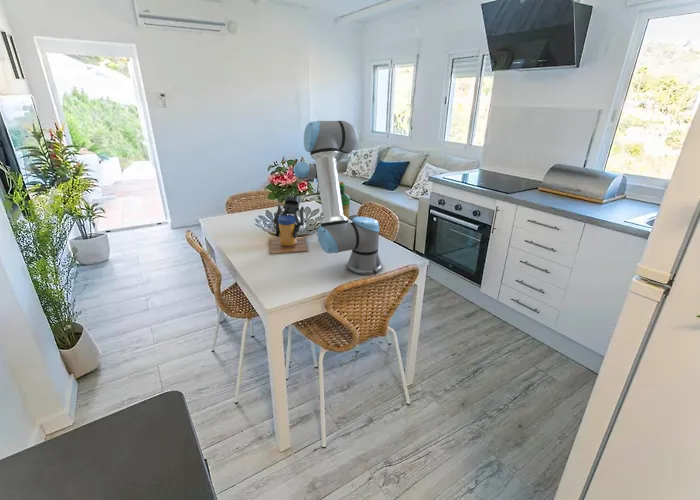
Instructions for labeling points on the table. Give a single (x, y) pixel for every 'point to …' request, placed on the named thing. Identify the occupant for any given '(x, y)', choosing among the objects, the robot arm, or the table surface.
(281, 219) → the lid
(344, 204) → the bottle
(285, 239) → the jar
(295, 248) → the mat
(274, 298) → the table surface
